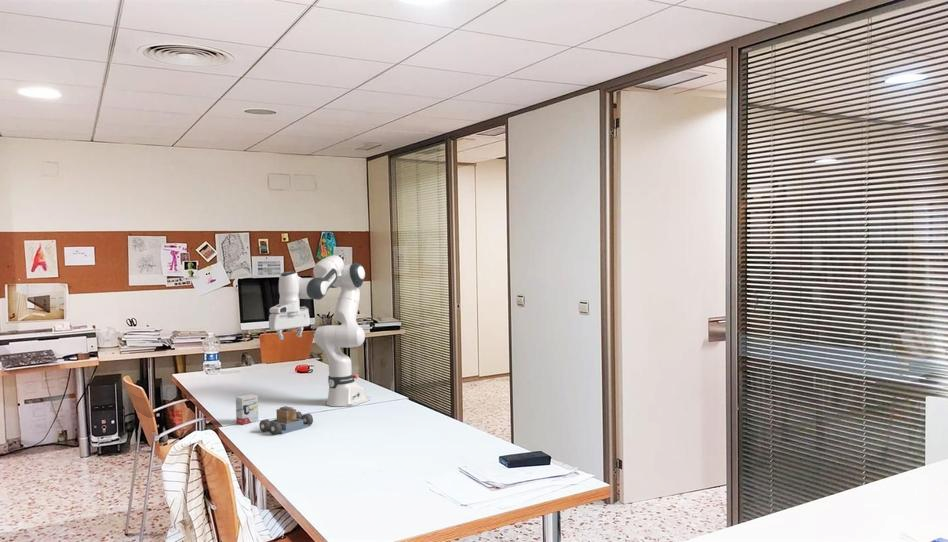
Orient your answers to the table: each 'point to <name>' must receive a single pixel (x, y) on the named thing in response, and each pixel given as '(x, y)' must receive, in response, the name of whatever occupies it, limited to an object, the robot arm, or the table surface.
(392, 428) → the table surface
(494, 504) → the table surface
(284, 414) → the brown box
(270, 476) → the table surface
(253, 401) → the ink box
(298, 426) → the chassis
